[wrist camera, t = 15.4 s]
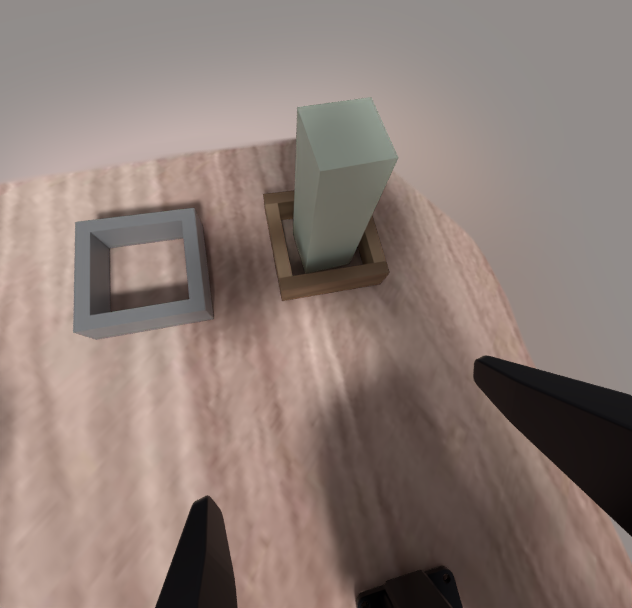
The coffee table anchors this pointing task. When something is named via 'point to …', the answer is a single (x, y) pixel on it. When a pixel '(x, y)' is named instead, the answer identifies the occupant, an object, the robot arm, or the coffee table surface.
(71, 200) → the coffee table surface
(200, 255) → the socket
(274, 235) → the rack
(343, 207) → the peg
